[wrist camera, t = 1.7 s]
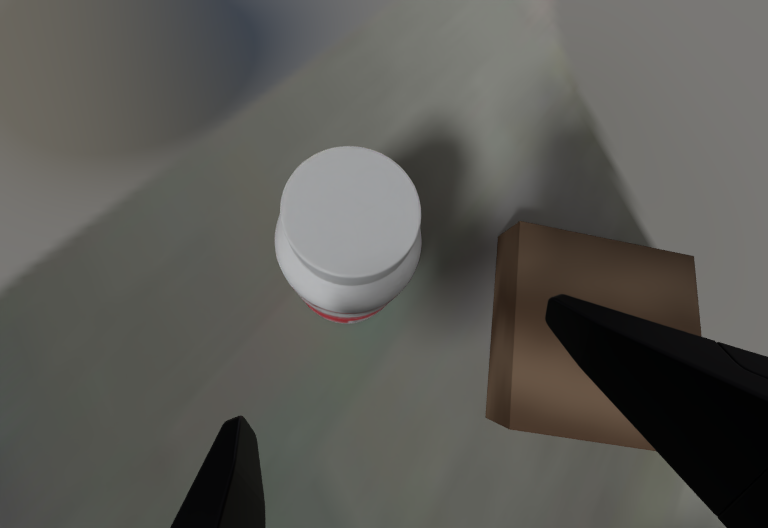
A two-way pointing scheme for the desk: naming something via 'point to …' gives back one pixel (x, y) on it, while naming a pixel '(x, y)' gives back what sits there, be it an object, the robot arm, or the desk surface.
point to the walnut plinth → (543, 349)
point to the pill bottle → (348, 232)
